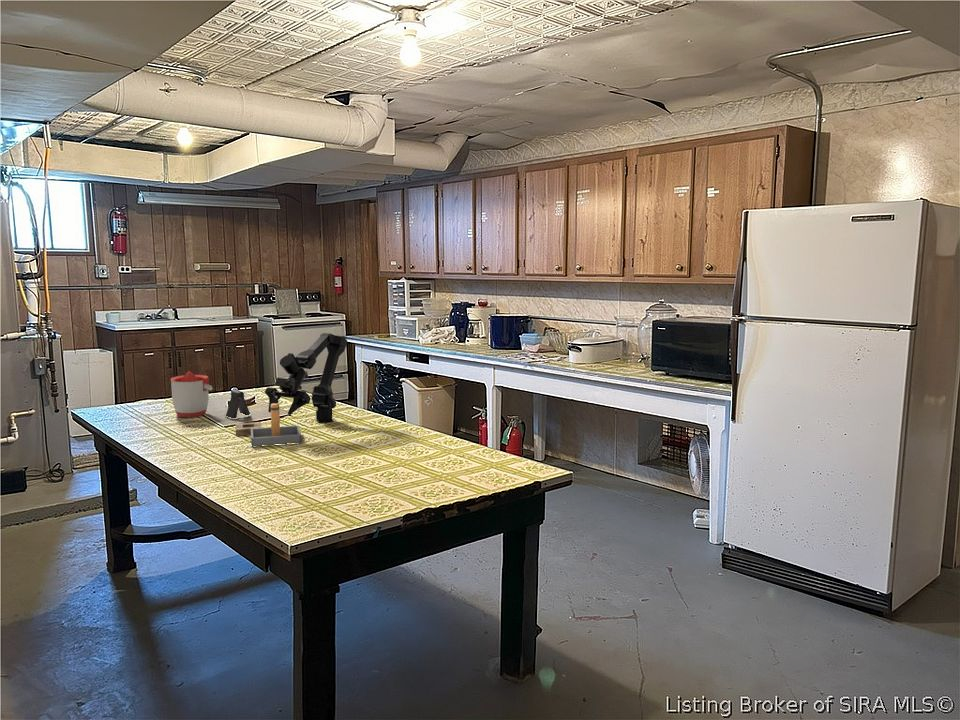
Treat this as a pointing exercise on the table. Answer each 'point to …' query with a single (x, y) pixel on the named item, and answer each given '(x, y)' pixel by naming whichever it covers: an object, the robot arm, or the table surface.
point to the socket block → (246, 428)
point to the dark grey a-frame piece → (237, 404)
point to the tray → (265, 436)
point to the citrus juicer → (190, 394)
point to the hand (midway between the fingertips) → (278, 413)
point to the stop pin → (275, 419)
